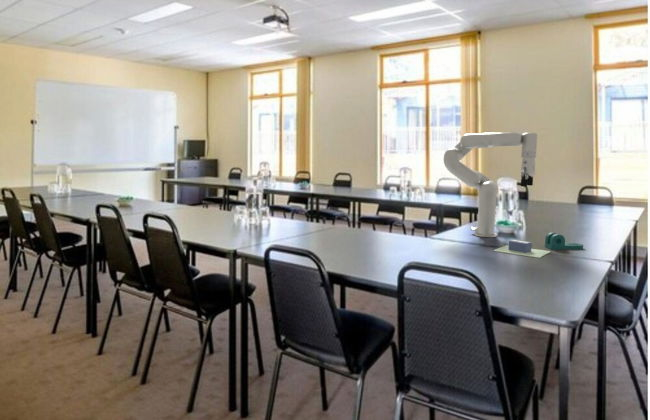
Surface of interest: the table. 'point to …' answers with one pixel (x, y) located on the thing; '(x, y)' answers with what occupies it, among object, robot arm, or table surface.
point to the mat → (533, 253)
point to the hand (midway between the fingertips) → (526, 185)
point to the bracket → (559, 242)
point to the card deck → (520, 246)
